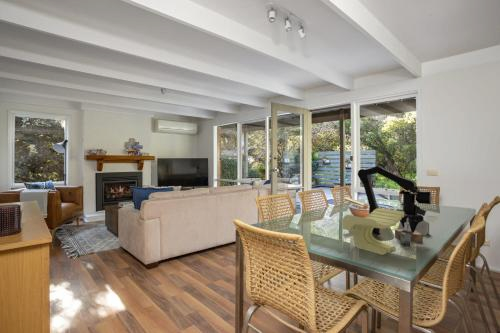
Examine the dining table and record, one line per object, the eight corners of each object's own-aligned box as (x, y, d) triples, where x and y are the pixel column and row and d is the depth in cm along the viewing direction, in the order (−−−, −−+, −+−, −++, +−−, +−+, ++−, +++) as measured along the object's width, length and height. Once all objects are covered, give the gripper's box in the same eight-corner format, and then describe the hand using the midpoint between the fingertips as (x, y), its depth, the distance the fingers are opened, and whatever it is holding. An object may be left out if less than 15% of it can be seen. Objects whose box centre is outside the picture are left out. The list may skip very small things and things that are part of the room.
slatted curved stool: (373, 238, 151) (374, 207, 150) (403, 245, 138) (404, 211, 137) (342, 249, 133) (342, 213, 132) (373, 259, 120) (373, 219, 119)
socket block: (403, 241, 145) (403, 234, 145) (394, 236, 155) (394, 229, 155) (422, 241, 145) (422, 234, 144) (412, 236, 155) (412, 229, 154)
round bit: (403, 246, 137) (403, 234, 137) (398, 243, 142) (399, 232, 142) (412, 246, 137) (412, 234, 137) (407, 243, 142) (407, 232, 141)
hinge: (396, 229, 169) (399, 214, 171) (399, 231, 172) (402, 215, 173) (426, 235, 156) (428, 219, 157) (429, 237, 158) (431, 220, 160)
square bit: (406, 239, 148) (407, 223, 148) (404, 238, 151) (404, 222, 151) (412, 239, 148) (412, 223, 148) (409, 238, 151) (409, 222, 151)
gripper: (434, 205, 139) (433, 235, 140) (414, 199, 158) (414, 226, 159) (412, 205, 140) (411, 234, 141) (395, 199, 159) (394, 225, 159)
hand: (408, 229), depth 150 cm, fingers open, 9 cm apart
